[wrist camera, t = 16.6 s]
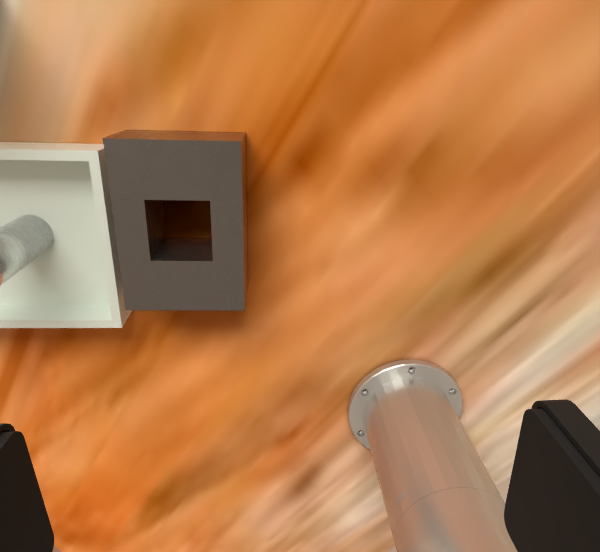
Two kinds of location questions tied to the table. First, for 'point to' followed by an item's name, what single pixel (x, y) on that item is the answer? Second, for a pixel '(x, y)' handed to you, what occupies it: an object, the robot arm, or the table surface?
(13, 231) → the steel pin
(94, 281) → the tray
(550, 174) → the table surface
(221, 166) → the hitch block
